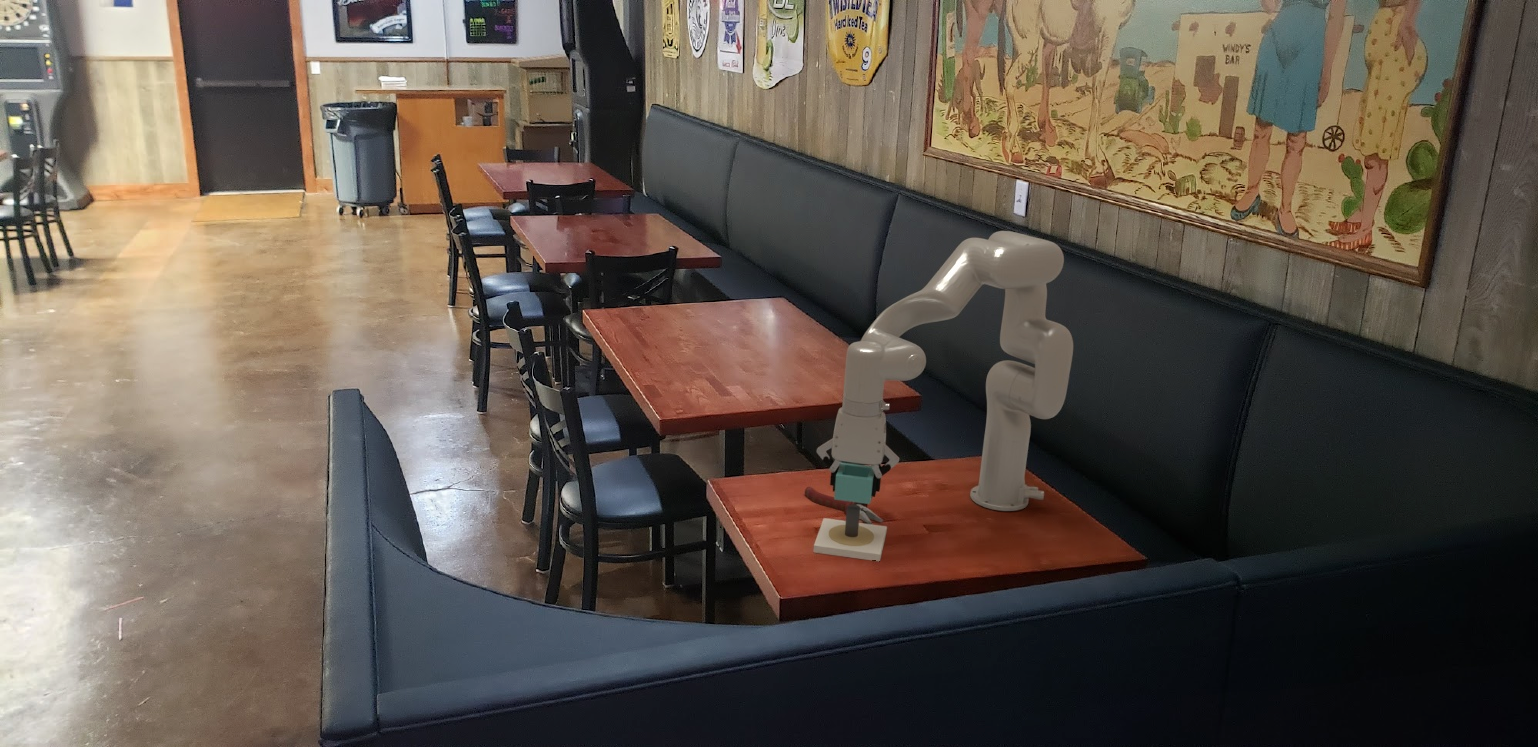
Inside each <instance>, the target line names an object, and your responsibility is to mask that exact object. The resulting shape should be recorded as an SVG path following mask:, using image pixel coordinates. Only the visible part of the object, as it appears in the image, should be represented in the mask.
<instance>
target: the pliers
mask: <svg viewBox="0 0 1538 747" xmlns="http://www.w3.org/2000/svg"><path fill="white" fill-rule="evenodd" d="M804 496H805V497H807V499H809V500H810V501H811V502H813V503H815V504H818V505H821V506H825V507H827V508H830V509H835V510H838V511H842V512H844V515H846V513H847V506H848V505H851V504H854V505H858V506H860V516H859V520H861V521H863V522H864V523H866V524H872V525H873V523H872V521H876V522H880V523H884V519H882V518H881V517H880V516H878V515H877V514H876V513H875V512H873V510H871V509H869V508H868V505H869V504H865V503H858V502H850V501H843V500H835V499H834V496H831V495H828V494H824V493H821V492H818V491H817V490H815V489H814V488H813V487H811V486H807V487H806V488H805V489H804ZM871 520H872V521H871Z"/></svg>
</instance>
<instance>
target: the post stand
mask: <svg viewBox="0 0 1538 747" xmlns="http://www.w3.org/2000/svg"><path fill="white" fill-rule="evenodd" d="M859 516H860V506H858V505H854V504H851V505H848V506H847V513H846V514H845V520H841V519H833V518H828V517H827V518H825V517H823V519H822V522H821V525H820V528H819V529H818V532H817V536H816V539H815V541H814V544H813V550H812V551H813V552H812V553H815V554H816V553H817V554H822V555H831V556H837V557H845V558H851V559H852V558H853V559H858V560H859V559H860V560H866V561H872V560H876V561H875V562H879V561H880V562H881V558H882V553H883V549H884V545H885V541H886V535H887V533H888V532H887V530H888V526H886V525H879V524H873V523H872V524H868V523H866V522H864V523H862V522H860V519H859Z"/></svg>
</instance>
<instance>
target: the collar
mask: <svg viewBox="0 0 1538 747" xmlns="http://www.w3.org/2000/svg"><path fill="white" fill-rule="evenodd" d="M874 474H875V473H874V471H873V468H872V466H871V465H865V464H857V463H850V462H841V463H840V465H839V469H838V472H837V474H836V482H835V492H834V496H833V497H834V499H835V500H843V501H850V502H853V503H854V502H858V503H865V504H868V505H871V502H872V498H873V497H872V486H873V477H874Z"/></svg>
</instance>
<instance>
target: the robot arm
mask: <svg viewBox="0 0 1538 747" xmlns="http://www.w3.org/2000/svg"><path fill="white" fill-rule="evenodd" d="M1064 262H1065V257H1064V253H1063V251H1062V249H1061V247H1060V246H1059V245H1058V244H1056V243H1055V242H1053V241H1050V240H1048V239H1043V238H1038V237H1035V236H1031V235H1028V234H1023V233H1019V232H1016V231H1015V232H1014V231H1012V230H1011V231H1009V230H1000V231H996V232H995V231H994V232H993V233H992V234H991V235H990V236H989V238H988V239H985V238H981V237H970V238H969V237H968V238H967V239H964V240H963V241H961V243H960V244H958V246H957V247H956V248H955V249H954V250H953V252H952V253H951V255H950V256H948V258H947V259H946V260H945V262H944V263H943V265H941V266H940V268H939V270H937V272H935V274H934V275H933V277H932V278H931V279H930V280H929V281H928V283H927V284H926V285H925V286H924V287H923V288H922V289H921V290H919V291H917V292H914V293H911V294H909V295H908V296H907V295H906V296H905V297H904V298H901V299H900V300H898V301H897V302H895V303H893V304H891V305H889V306H888V307H886V308H885V309H884V310H883V311H882V312H881V313H879V315H878V316H877V317H876V319H875V320H873V322H872V323H871V324H870V326H869V327H868V328H867V330H866V331H865V332H864V334H863V336H862V337H861V339H860V340H859V341H854V342H852V343H851V344H850V345H848V347H847V349H846V356H845V357H846V358H845V369H844V370H845V371H844V382H843V383H844V384H843V397H842V407H840V408H839V409H838V411H837V414H836V418H835V424H834V430H833V436H832V438H831V439H829V440H827V441H826V442H824V443H822V444H821V445H820V446H818V447H817V448H816V454H817V455H818V456H819V457H820V459H821V460H822V462H823V463H824V464H825V466H826V467H827V468H828V469H829V472H830V479H829V480H830V482H829V486H832V492H833V493H835V482H836V474H837V472H838V469H839V466H840V464H841V463H849V464H857V465H865V466H872V468H873V471H874V473H875V474H874V477H873V486H872V498H873V497H874V498H875V497H876V495H877V492H879V493H880V491H881V483H882V482H881V481H882V477H883V476H884V475H885V474H887V473H888V472H890V471H891V469H893V468H894V467H895V466H897V465H898V464H899V461H900V457H899V456H898V455H897V454H896V453H895V451H893V450H892V449H891V448H890V446H888V445H887V444H886V443H887V422H886V421H887V419H886V413H885V412H884V411H889V410H890V403H888V402H885V400H884V397H883V396H884V388H885V387H884V385H885V382H886V381H897V382H898V381H900V382H901V381H903V382H905V381H911V380H913V379H915V378H917V377H918V376H920V375H921V374H922V373H923V371H924V369H925V368H926V365H927V357H926V353H925V352H924V350H923V349H922V348H921V347H920V346H919V345H917V344H916V343H913V342H911V341H909V340H906V339H903V338H902V337H901V336H902V335H903V334H904V333H906V332H907V331H908V330H911V329H912V328H914V327H917V326H920V325H923V324H930V323H935V322H942V321H946V320H951V319H954V318H956V317H957V316H959V315H960V313H961V312H962V311H963V310H964V308H965V307H966V305H968V303H969V302H970V300H971V299H972V298H973V297H974V296H975V294H976V293H977V292H978V290H979V289H980V288H981V287H982V286H983V285H987V286H991V287H993V288H997V289H1002V290H1005V291H1004V292H1005V295H1004V306H1003V312H1002V319H1001V327H1000V332H999V333H1000V334H999V344H1000V345H999V346H1000V347H1001V350H1003V352H1004V353H1006V354H1008V355H1010V356H1012V357H1015V358H1017V359H1018V360H1019V359H1020V360H1023V361H1025V362H1028V363H1030V364H1034V367H1033V366H1031V365H1028V364H1025V363H1022V362H1020V361H1015V360H1002V361H998V362H996V363H995V364H993V365H992V366H991V368H990V369H989V371H988V373H987V376H986V381H985V395H986V421H985V422H986V423H985V431H984V436H983V437H984V438H983V445H982V455H981V463H980V471H979V480H978V485H975V486H974V487H972V488H971V489H970V495H969V496H970V499H971V500H972V501H973V502H974V503H976V504H977V505H978V506H981V507H983V508H986V509H989V510H993V511H994V510H995V511H999V512H1016V511H1020V510H1023V509H1024V508H1026V507H1027V506H1028V504H1029V499H1035V500H1039V501H1041V500H1042V501H1043V500H1044V496H1045V491H1044V490H1039V487H1038V486H1028V484H1026V479H1025V475H1026V467H1027V458H1028V453H1029V451H1028V450H1029V443H1030V437H1031V432H1032V431H1031V430H1032V429H1031V428H1032V424H1031V423H1032V422H1031V419H1030V418H1031V417H1034V418H1037V419H1041V420H1049V419H1051V418H1054V417H1056V416H1057V415H1058V414H1059V412H1060V411H1061V410H1062V409H1063V408H1062V407H1063V405H1064V404H1065V400H1066V397H1067V392H1068V391H1067V390H1068V385H1069V380H1070V375H1071V374H1070V372H1071V368H1072V363H1073V362H1072V361H1073V353H1074V340H1073V337H1072V336H1073V335H1072V334H1071V332H1070V330H1069V329H1068V328H1067V327H1066V326H1065V325H1063V324H1061V323H1058V322H1055V321H1053V320H1049V319H1047V318H1046V310H1047V308H1046V307H1047V299H1048V289H1047V288H1048V287H1047V284H1048V283H1051V282H1052V281H1053V280H1055V279H1057V277H1058V276H1059V275H1060V274H1061V272H1062V269H1063V267H1064V264H1065V263H1064ZM1030 416H1031V417H1030ZM830 449H831V454H830V455H831V456H830V455H829V454H828V453H827V451H829V450H830ZM885 456H886V457H887V458H888V462H885V463H884V464H883V465H882V463H883V459H884V457H885Z"/></svg>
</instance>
